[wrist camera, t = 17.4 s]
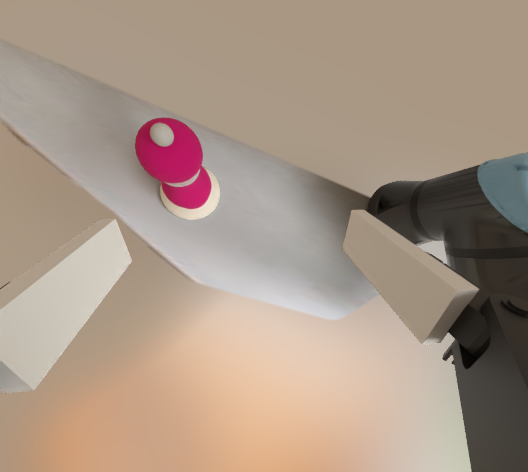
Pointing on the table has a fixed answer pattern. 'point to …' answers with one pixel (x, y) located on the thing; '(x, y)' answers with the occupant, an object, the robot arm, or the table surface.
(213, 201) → the cream dome
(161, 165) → the pepper mill
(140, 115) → the table surface
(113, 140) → the table surface
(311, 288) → the table surface
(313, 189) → the table surface
